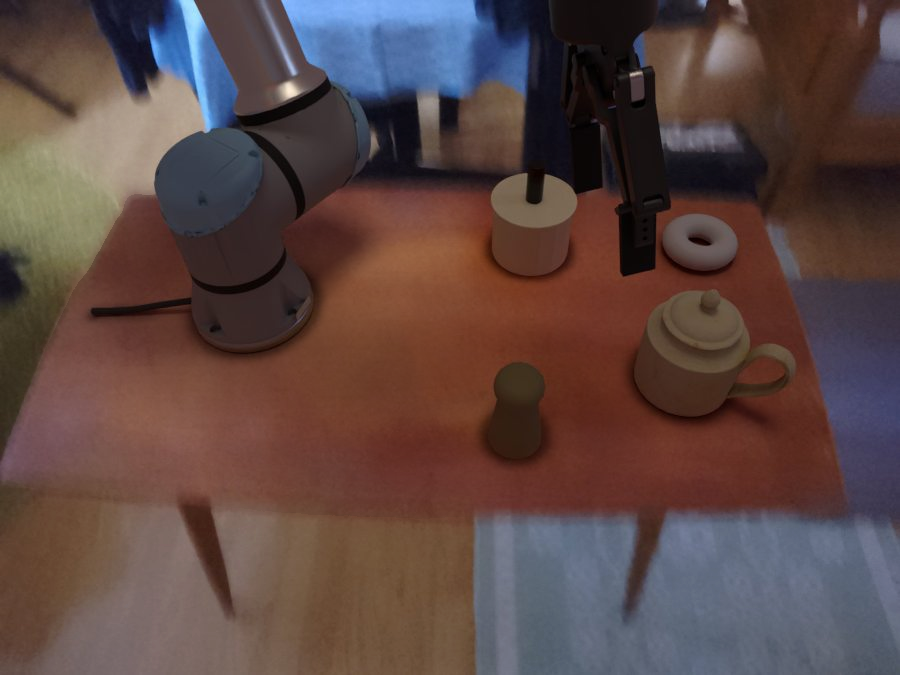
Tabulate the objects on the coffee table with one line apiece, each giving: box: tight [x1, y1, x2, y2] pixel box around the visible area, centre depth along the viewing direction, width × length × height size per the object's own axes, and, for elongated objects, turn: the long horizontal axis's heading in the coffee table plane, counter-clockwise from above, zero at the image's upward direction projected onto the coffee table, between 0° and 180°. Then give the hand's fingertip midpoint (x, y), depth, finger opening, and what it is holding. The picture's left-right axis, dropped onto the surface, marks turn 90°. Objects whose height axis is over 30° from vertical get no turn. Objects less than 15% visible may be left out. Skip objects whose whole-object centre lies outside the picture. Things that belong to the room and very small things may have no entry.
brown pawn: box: [487, 361, 546, 460], centre depth 72 cm, size 6×6×11 cm
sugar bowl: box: [633, 288, 797, 418], centre depth 74 cm, size 15×11×15 cm
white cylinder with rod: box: [490, 157, 578, 230], centre depth 87 cm, size 11×11×7 cm
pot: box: [491, 210, 574, 277], centre depth 92 cm, size 10×10×8 cm
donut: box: [661, 213, 739, 272], centre depth 93 cm, size 10×4×10 cm
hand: (610, 226), depth 61 cm, fingers open, 13 cm apart
